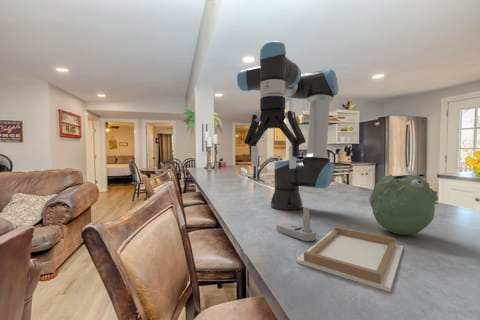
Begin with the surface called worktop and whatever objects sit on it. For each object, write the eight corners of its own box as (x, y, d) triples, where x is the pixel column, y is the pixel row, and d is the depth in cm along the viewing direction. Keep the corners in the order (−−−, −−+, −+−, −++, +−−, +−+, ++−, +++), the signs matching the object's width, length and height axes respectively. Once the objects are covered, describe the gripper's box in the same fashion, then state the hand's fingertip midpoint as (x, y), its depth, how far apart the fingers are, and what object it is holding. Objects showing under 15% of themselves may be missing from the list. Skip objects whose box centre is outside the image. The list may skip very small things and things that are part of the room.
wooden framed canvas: (330, 233, 80) (330, 225, 80) (403, 249, 67) (403, 239, 67) (296, 262, 60) (296, 251, 60) (390, 292, 47) (390, 278, 47)
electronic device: (283, 201, 87) (318, 208, 74) (284, 228, 87) (319, 239, 75) (273, 203, 84) (307, 211, 71) (273, 231, 84) (308, 243, 72)
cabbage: (376, 222, 92) (377, 170, 91) (439, 235, 78) (442, 174, 77) (361, 232, 81) (362, 173, 80) (432, 249, 67) (435, 178, 66)
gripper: (233, 100, 78) (234, 166, 79) (306, 88, 62) (305, 170, 63) (247, 103, 83) (248, 164, 85) (317, 93, 67) (316, 168, 69)
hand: (272, 167), depth 74 cm, fingers open, 13 cm apart
